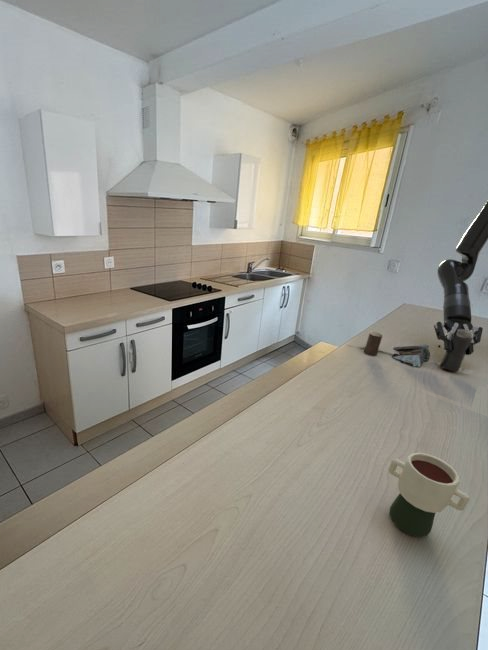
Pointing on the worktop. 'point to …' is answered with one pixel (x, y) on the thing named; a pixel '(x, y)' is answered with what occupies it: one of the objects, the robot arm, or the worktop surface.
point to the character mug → (423, 492)
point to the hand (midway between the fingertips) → (459, 352)
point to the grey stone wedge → (412, 354)
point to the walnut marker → (373, 343)
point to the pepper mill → (457, 350)
